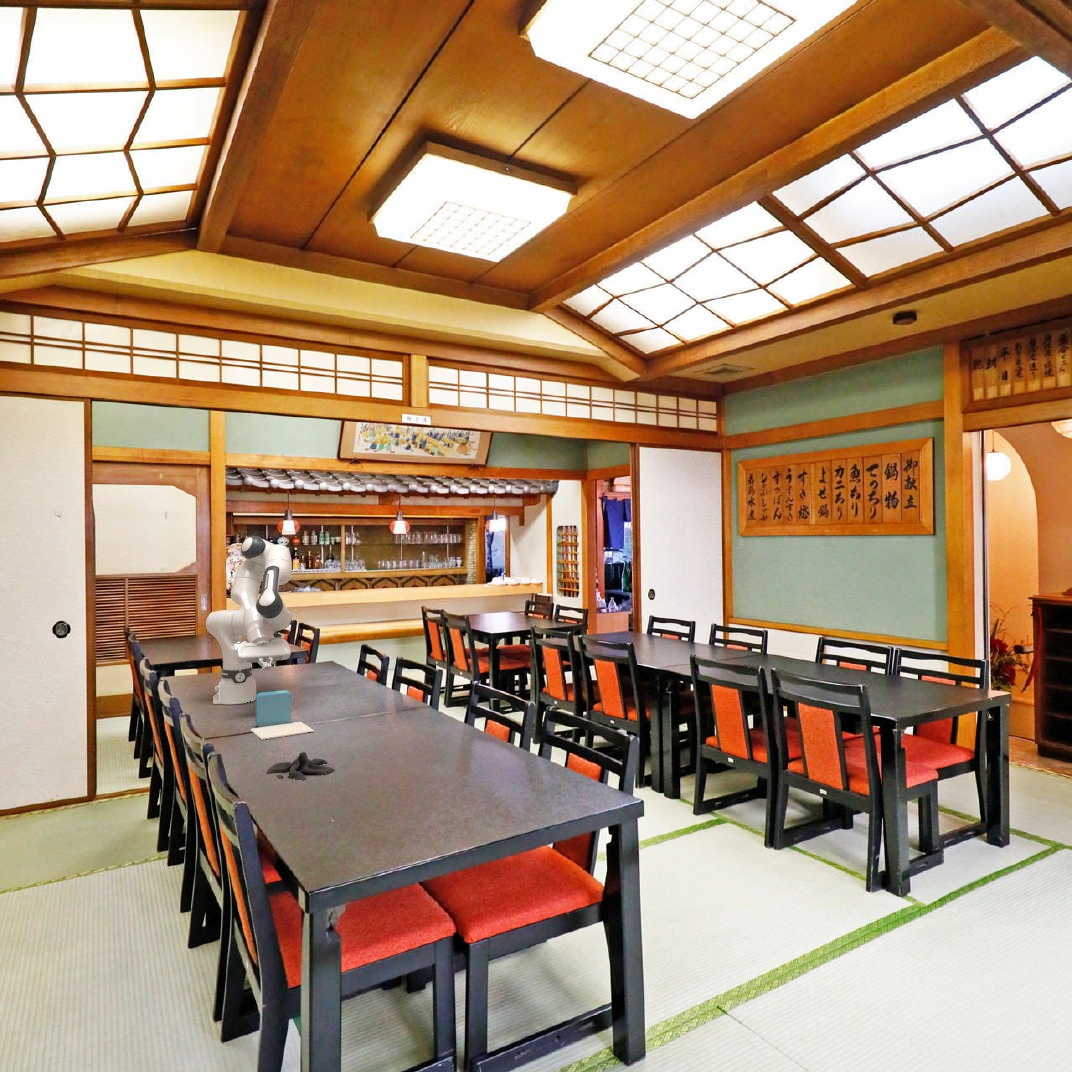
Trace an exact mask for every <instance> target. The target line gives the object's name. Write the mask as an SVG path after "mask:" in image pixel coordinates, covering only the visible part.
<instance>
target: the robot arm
mask: <svg viewBox="0 0 1072 1072" xmlns="http://www.w3.org/2000/svg"><path fill="white" fill-rule="evenodd" d="M289 549H290V548H288V546H286V545H284V544H281V543H280V544H275V543H273V542H270V541H268V540H266V539H264V538H262V537H260V536H257V535H250V536H247V537H246V538H245V539H244V540H243V541H242V543H241V546H240V553H241V554H242V556H243V557H244V558H246V559H244V560H243V561H241V562H240V564H239V566H238V569H237V571H236V572H235V576H234V578H233V579H234V580H233V583H232V588H231V591H230V598H231V600H232V602H234V603H235V604H236V605H239V609H220V610H215V611H211V612H210V613H209V614H208V616H207V617H206V619H205V627H206V630H207V632H208V633H209V634H210V635H212V636H213V637H214V638H215V639H216V640H217V642H218V644H219V646H220V648H221V652H222V669H221V679H220V681H219V682H218V684H217V685H215V686H214V692H215V693H216V694H214V695H213V696H212V704H213V705H240V704H247V702H248V703H250V701H251V702H254V701H256V695H257V686H256V685H257V684H256V682H257V681H256V679H255V678H253V676H252V675H253V667H252V663H258V664H259V666H261V668H262V670H264V671H266V670H271V669H272V663H273V661H284V660H285V661H286V660H288V659H290V656H291V654H292V650H291V648H290V644H289V643H288V641H287V640H286V639H285V635H284V634H283V633H279V632H280V631H282V630H283V631H284V630H285V629H287V628H288V627H289V626H290V624H291V623H292V619H293V618H292V614H291V612H290V611H289V609H288V608H287V606H286V605H285V603H284V601H283V599H282V597H281V595H280V594H279V587H280V586H283V585H285V584H287V583H289V581H290V580H291V578H292V573H293V564H292V556H291V552H290V550H289ZM262 577H263V578H262ZM261 583H262V584H261ZM260 588H261V591H260ZM259 593H260V594H259ZM239 636H241V637H244V636H245V637H246V638H247V641H241V640H240V638H239ZM265 662H267V663H265Z"/></svg>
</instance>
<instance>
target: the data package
mask: <svg viewBox="0 0 1072 1072" xmlns="http://www.w3.org/2000/svg"><path fill="white" fill-rule="evenodd" d="M254 720H255V724H256V726H257V728H259V727H266V726H273V725H280V724H287V723H292V694H291V693H290V692H289V690H287V689H286V690H275V691H274V690H273V691H263V692H258V693H256V700H255V719H254Z"/></svg>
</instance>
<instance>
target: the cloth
mask: <svg viewBox="0 0 1072 1072" xmlns="http://www.w3.org/2000/svg"><path fill="white" fill-rule="evenodd" d="M322 764H328V765H329V763H328V760H325V759H323V758H312V759H310V758H309V757H308V755H307V752H306V751H302V752H300V753H299V754H298V756H297V758H296V759H294V760H293V761H292V762H290V761H284V762H276V763H275V764H273V765H271V766H270V767H269V768H268V769H267V771H266V773H265V774H266V775H271V774H277V775H276V776H275V777H276V778H277V779H278V780H284V778H285V776H284V775H283V776H284V777H283V776H282V774H288V775H289V776H288V775H287V779H289V780H293V779H295V780H294V781H298V780H302V781H301V782H304V780H305V781H307V780H306V779H307V777H306V776H305V775H316V774H319V775H318V776H321V775H324V776H326V774H327V775H329V774H331V772H332V773H334V772H336V769H334V768H333V767H330V766H326V765H322ZM320 765H321V766H320ZM333 771H334V772H333ZM287 772H289V773H287Z"/></svg>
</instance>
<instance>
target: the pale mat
mask: <svg viewBox="0 0 1072 1072" xmlns="http://www.w3.org/2000/svg"><path fill="white" fill-rule="evenodd" d="M249 730H250V732H251V733H252V732H253V733H252V734H254V735H255V736H256V737H257V738H258V737H259V738H260V739H261V740H260V739H259V738H258V739H259V740H260V741H266V740H265V739H268V740H271V739H270V738H275V737H281V738H286V737H285V736H288V737H290V736H289V735H294V734H295V735H294V736H297V735H296V734H300V733H307V732H314V733H315V730H314V728H311V727H310V726H309V725H307V724H306V723H303V722H302V721H295V722H290V723H287V724H280V725H273V726H266V727H253V728H250V729H249ZM307 734H308V733H307ZM275 739H276V738H275Z"/></svg>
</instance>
